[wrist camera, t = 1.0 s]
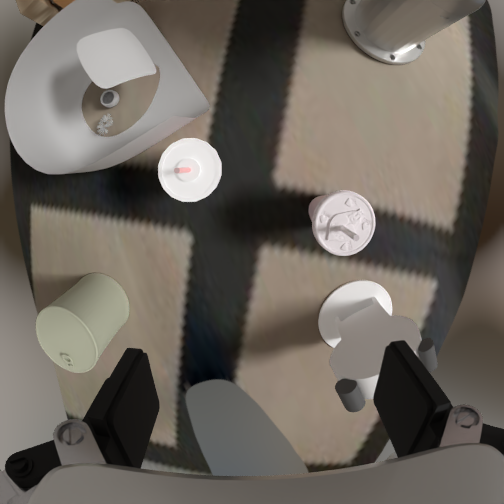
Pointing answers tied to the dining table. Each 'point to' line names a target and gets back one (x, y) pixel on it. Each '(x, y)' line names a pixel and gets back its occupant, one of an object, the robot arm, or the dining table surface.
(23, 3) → the bracket
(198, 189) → the beverage cup
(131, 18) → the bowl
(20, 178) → the dining table surface
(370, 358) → the panda figurine
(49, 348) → the can
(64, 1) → the block
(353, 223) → the smoothie
